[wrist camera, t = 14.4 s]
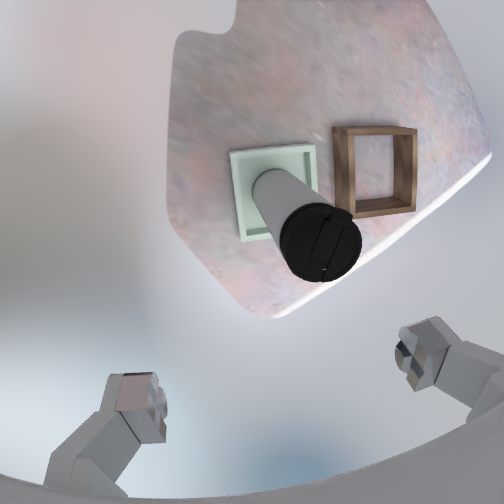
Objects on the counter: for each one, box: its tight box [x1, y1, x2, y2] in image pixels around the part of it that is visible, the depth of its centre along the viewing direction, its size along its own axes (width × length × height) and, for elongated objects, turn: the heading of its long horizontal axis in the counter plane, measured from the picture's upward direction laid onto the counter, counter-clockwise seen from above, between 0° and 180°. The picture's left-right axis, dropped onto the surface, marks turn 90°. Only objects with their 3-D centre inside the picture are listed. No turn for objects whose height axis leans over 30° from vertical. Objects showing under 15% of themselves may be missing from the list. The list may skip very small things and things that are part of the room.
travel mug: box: [252, 168, 362, 282], centre depth 32 cm, size 6×7×20 cm
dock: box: [229, 143, 318, 243], centre depth 41 cm, size 12×11×2 cm
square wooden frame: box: [332, 126, 417, 219], centre depth 40 cm, size 12×11×5 cm
